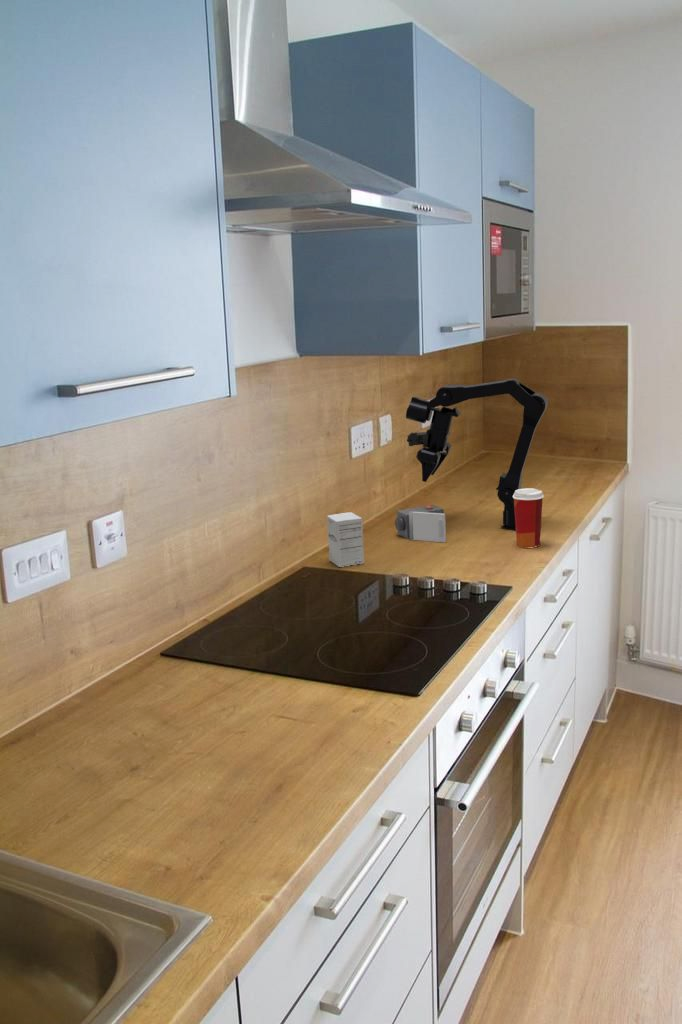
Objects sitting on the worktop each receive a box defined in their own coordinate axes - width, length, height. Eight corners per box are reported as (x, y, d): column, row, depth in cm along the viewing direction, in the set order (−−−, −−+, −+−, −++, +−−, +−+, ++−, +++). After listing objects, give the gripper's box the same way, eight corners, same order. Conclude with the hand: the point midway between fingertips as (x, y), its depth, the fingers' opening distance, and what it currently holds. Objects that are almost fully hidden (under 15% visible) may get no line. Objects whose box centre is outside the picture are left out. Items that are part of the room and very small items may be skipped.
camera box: (434, 527, 262) (433, 502, 261) (444, 532, 257) (443, 507, 255) (394, 534, 258) (393, 509, 256) (403, 539, 252) (402, 513, 250)
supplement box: (328, 561, 236) (326, 515, 233) (354, 556, 239) (352, 511, 236) (338, 568, 230) (335, 521, 226) (365, 564, 232) (362, 517, 229)
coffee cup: (532, 539, 246) (532, 486, 242) (550, 546, 238) (550, 492, 234) (506, 543, 243) (506, 490, 239) (523, 551, 235) (522, 496, 232)
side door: (446, 541, 248) (445, 513, 246) (444, 542, 247) (443, 515, 245) (410, 538, 253) (409, 511, 251) (408, 539, 252) (407, 512, 250)
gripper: (421, 415, 269) (410, 464, 274) (405, 425, 252) (393, 477, 257) (456, 425, 266) (444, 474, 271) (442, 435, 249) (430, 488, 254)
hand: (427, 478), depth 263 cm, fingers open, 9 cm apart
